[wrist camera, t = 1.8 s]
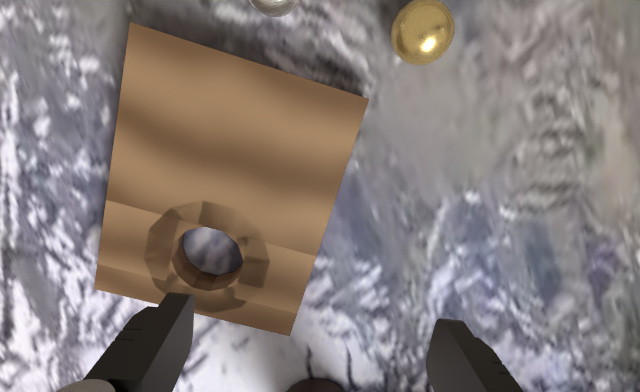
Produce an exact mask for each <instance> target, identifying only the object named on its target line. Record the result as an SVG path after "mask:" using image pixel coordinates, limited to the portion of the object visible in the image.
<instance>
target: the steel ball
mask: <svg viewBox="0 0 640 392" xmlns="http://www.w3.org/2000/svg"><path fill="white" fill-rule="evenodd" d="M301 1H302V0H249V2H250V3H251V4H252V6H253V7H254V8H255V9H257V10H258V11H259V12H261V13H263V14H265V15H268V16H272V17H280V16H284V15H287V14H289V13H291V12H292V11H294V10H295V9H296V8H297V7H298V5H299V4H300V3H301Z"/></svg>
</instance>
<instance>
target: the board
mask: <svg viewBox="0 0 640 392" xmlns="http://www.w3.org/2000/svg"><path fill="white" fill-rule="evenodd" d="M368 101H369V99H367V98H364V97H361V96H358V95H355V94H352V93H349V92H346V91H342V90H339V89H336V88H333V87H330V86H327V85H324V84H321V83H318V82H315V81H311V80H308V79H305V78H302V77H299V76H296V75H293V74H290V73H287V72H284V71H281V70H277V69H274V68H271V67H268V66H265V65H262V64H259V63H256V62H253V61H250V60H246V59H243V58H240V57H237V56H234V55H231V54H228V53H225V52H222V51H219V50H215V49H212V48H209V47H206V46H203V45H200V44H197V43H194V42H191V41H188V40H184V39H181V38H178V37H175V36H172V35H169V34H166V33H163V32H160V31H157V30H153V29H150V28H147V27H144V26H141V25H138V24H135V23H132V22H130V25H129V32H128V40H127V47H126V55H125V62H124V70H123V77H122V84H121V92H120V99H119V107H118V114H117V122H116V129H115V136H114V144H113V151H112V159H111V166H110V174H109V181H108V188H107V196H106V203H105V211H104V218H103V225H102V233H101V240H100V248H99V255H98V263H97V270H96V277H95V285H94V289H97V290H101V291H105V292H110V293H114V294H118V295H122V296H126V297H130V298H134V299H138V300H143V301H147V302H151V303H155V304H160V303H161V301H162V300H163V299H164V297H165V296H166V294H167V293H168V292H177V293H187V294H193V295H194V313H196V314H200V315H204V316H209V317H213V318H217V319H221V320H225V321H229V322H233V323H237V324H242V325H246V326H250V327H254V328H258V329H262V330H266V331H270V332H275V333H279V334H283V335H287V336H290V333H291V330H292V327H293V324H294V321H295V318H296V315H297V312H298V309H299V306H300V303H301V301H302V298H303V295H304V292H305V289H306V286H307V283H308V280H309V277H310V274H311V271H312V268H313V265H314V262H315V259H316V256H317V253H318V250H319V247H320V244H321V241H322V238H323V235H324V232H325V229H326V226H327V223H328V220H329V217H330V214H331V211H332V208H333V205H334V202H335V199H336V196H337V193H338V190H339V187H340V184H341V181H342V178H343V175H344V172H345V169H346V166H347V163H348V160H349V157H350V154H351V151H352V148H353V145H354V142H355V140H356V137H357V134H358V131H359V128H360V125H361V122H362V119H363V116H364V113H365V110H366V107H367V104H368ZM200 227H209V228H212V229H216V230H220V231H224V232H225V233H226V234H227V235H228V236H229V237H230V238H232V239H233V240H234V241H235V242H236V243H237V244H238V246H239V249H240V252H241V255H242V258H243V264H242V265H241V266H240V267H239V268H237V269H236V270H235V271H234V272H231V273H227V274H222V275H214V274H210V273H206V272H202V271H200V270H199V269H198V268H196V267H195V266H194V265H193V264H192V263H191V262H189V261H188V259H187V256H186V254H185V251H184V249H183V246H182V244H183V239H184V234H185V232H186V231H187V230H191V229H196V228H200Z"/></svg>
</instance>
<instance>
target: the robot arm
mask: <svg viewBox="0 0 640 392" xmlns="http://www.w3.org/2000/svg"><path fill="white" fill-rule="evenodd" d="M193 320H194V295H193V294H187V293H177V292H168V293H167V294H166V296H165V297H164V299H163V300H162V301H161V303H160V304H159V306H158V307H146V308H144V309H143V310H141V311H140V312H138V313H137V314H135V315H134V316H132V318H131V319H130V320H129V321H128V323H127V324H126V325H125V327H124V328H123V331H121V332H120V333H119V334H118V335H117V337H116V338H115V341H113V342H112V343H111V344H110V346H109V347H108V348H107V350H106V351H105V352H104V353H103V355H102V356H101V357H100V359H99V360H98V361H97V362H96V364H95V365H94V366H93V368H92V369H91V370H90V371H89V373H88V374H87V375H86V377H85V378H84V379H83V380H81V381H77V382H74V383H71V384H69V385H67V386H65V387H63V388H61V389H59V390H58V391H56V392H172V391H173V389H174V387H175V384H176V382H177V380H178V378H179V375H180V373H181V371H182V369H183V367H184V364H185V362H186V360H187V358H188V355H189V352H190V349H191V344H192V338H193ZM426 369H427V374H428V378H429V380H430V382H431V385H432V387H433V389H434V391H435V392H524V391H523V390H522V389H521V387H520V386H519V385H518V383H517V382H516V381H515V379H514V378H513V377H512V376H510V372H509V371H508V370H507V368H506V367H505V366H504V365H502V362H501V360H500V359H499V357H498V356H497V355H496V353H495V352H494V351H493V349H492V348H490V347H489V346H488V345H487V344H485V343H484V342H483V341H482V340H481V339H479V338H475V337H474V336H473V334H472V333H471V331H470V330H469V329H468V327H467V326H466V324H465V323H464V322H463V321H461V320H451V319H438V320H437V321H436V324H435V327H434V331H433V335H432V339H431V342H430V346H429V350H428V354H427V359H426Z"/></svg>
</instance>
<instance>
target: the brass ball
mask: <svg viewBox="0 0 640 392" xmlns="http://www.w3.org/2000/svg"><path fill="white" fill-rule="evenodd" d="M453 35H454V19H453V16H452V14H451V12H450V10H449V9H448V7H447V6H446V5H445V4H443V3H442V2H440V1H439V0H414V1H411V2H410V3H408V4H407V5H405V6H404V7H403V8H402V9H401V10H400V11H399V13H398V14H397V16H396V17H395V19H394V22H393V25H392V29H391V42H392V46H393V48H394V50H395V52H396V54H397V55H398V56H399V57H400V58H401V59H402V60H404V61H405V62H407V63H409V64H413V65H425V64H428V63H431V62H433V61H435V60H437V59H438V58H440V57H441V56H442V55H443V54H444V53H445V52H446V50H447V49H448V48H449V46H450V44H451V42H452V39H453Z"/></svg>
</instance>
